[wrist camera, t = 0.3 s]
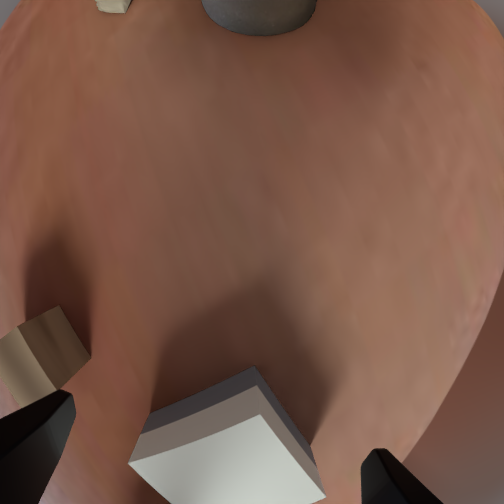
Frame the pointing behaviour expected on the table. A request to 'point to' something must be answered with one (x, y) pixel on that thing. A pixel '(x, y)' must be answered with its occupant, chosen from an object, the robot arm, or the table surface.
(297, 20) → the pillar candle
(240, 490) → the tower top block
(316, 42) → the table surface
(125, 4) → the decorative ornament
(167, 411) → the tower base block
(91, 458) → the table surface
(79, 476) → the table surface
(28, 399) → the brown faceted block
